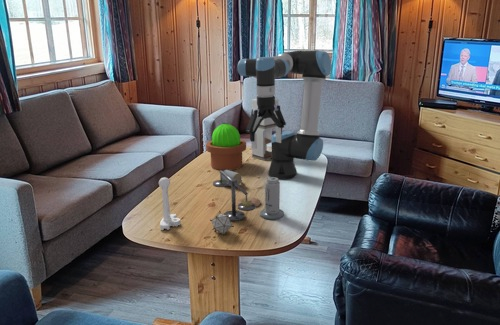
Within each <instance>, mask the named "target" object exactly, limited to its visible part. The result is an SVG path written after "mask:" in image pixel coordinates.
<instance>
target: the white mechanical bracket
mask: <svg viewBox="0 0 500 325" xmlns="http://www.w3.org/2000/svg"><path fill="white" fill-rule="evenodd" d="M158 185H159V187H160V188H161V190H162V191H161V192H162V213H163V217H162V218H161V220H160V222H159V228H160V229H161V230H164V229H165V230H171V227H174V226H176V227H178V225H179V226H180V225H181V218H179V217H177V214H176V213H171V209H170V201H169V192H168V191H169V187H170V185H171V181H170V179H169V178H168V177H161V178H160V179H159V181H158ZM161 230H160V231H161Z"/></svg>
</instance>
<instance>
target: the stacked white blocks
mask: <svg viewBox="0 0 500 325" xmlns="http://www.w3.org/2000/svg"><path fill="white" fill-rule="evenodd" d="M275 105H279V99H277V98H275ZM252 109H255V110H257V109H258V105H257V98H252V99H251V110H252ZM274 114H275V115H276V113H275V110H274ZM257 115H258V114H257ZM276 117H277V115H276ZM277 118H278V117H277ZM276 127H278V126H277V125H276V124H275V123H274V121H273V120H272V119H271V118H266V119H264V120H262V122H261V123H260V125H259V127H258V129H257V131H256V132H255V133H256V134H257V149H253V148H252V147H251V151H252V153H251V156H252V158H253V159H256V160H257V159H258V160H260V161H265V162H266V161H269V160H272V159H271V158H272V151H269V150H267V148H268V147H267V146H268V145H269V144H272V143H271V142H272V135H273V130H276Z"/></svg>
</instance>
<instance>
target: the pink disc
mask: <svg viewBox="0 0 500 325" xmlns="http://www.w3.org/2000/svg"><path fill="white" fill-rule="evenodd" d="M247 198H248V199H250V200H252V203H253V204H255V208H257V207H259V206H261V200H260V199H259V198H256V197H248V196H247ZM242 199H246V197H244V198H240V199H238V202H237V206H238V205H239V204H240V203H241V200H242Z"/></svg>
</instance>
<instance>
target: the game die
mask: <svg viewBox="0 0 500 325" xmlns="http://www.w3.org/2000/svg"><path fill="white" fill-rule="evenodd" d="M228 216H229V215H228ZM228 216H227V215H224V213H222V211H219V213H218V214H217V215H216V216H215V217H214V218H212V219H209V221H210V222H211V223H212V226H213V228H212V230H214V233H216V232H218V233H220V234H222V236H225V233H226V232H228V231H229V230H230V229H231V228H235V226H234V225H232V222H231V221H230V218H231V217H230V218H229V217H228Z"/></svg>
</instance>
